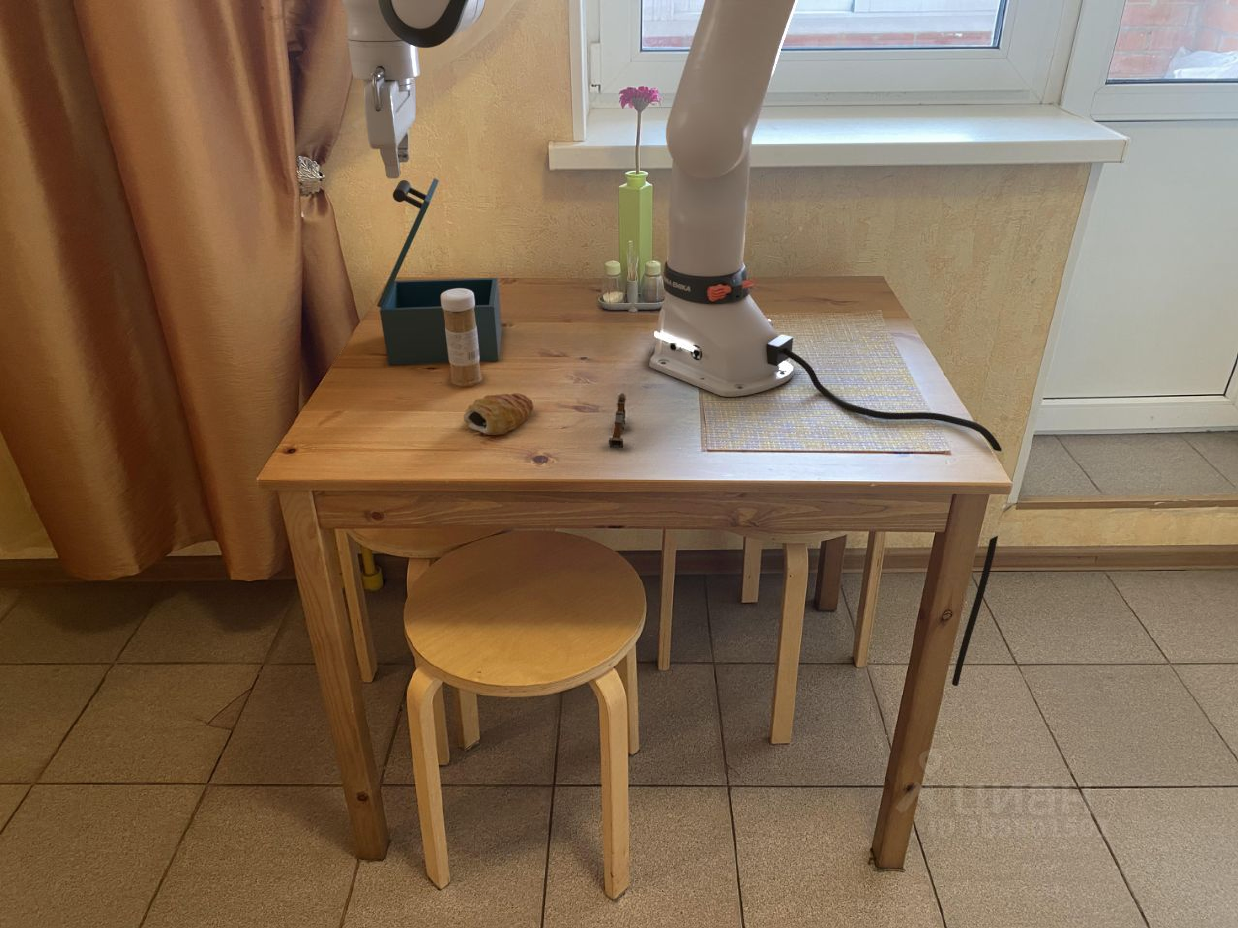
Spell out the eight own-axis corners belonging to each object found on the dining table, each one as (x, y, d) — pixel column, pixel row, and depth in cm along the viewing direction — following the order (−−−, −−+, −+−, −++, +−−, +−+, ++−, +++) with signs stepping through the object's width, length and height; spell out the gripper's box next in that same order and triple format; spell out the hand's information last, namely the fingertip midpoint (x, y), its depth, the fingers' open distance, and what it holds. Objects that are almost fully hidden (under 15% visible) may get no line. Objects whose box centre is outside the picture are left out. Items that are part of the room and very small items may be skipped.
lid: (439, 180, 132) (407, 164, 130) (429, 203, 121) (395, 185, 120) (394, 279, 139) (364, 264, 138) (381, 308, 128) (348, 293, 127)
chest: (502, 329, 145) (497, 277, 140) (498, 361, 134) (494, 306, 130) (399, 332, 144) (392, 280, 139) (388, 365, 133) (379, 310, 129)
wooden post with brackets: (630, 411, 118) (629, 390, 114) (624, 460, 113) (622, 439, 110) (616, 410, 118) (615, 389, 114) (610, 459, 114) (608, 438, 110)
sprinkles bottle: (471, 371, 131) (462, 284, 124) (488, 381, 128) (480, 293, 121) (444, 380, 129) (434, 292, 122) (460, 390, 126) (450, 301, 119)
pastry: (512, 401, 123) (510, 376, 121) (546, 416, 119) (545, 391, 117) (460, 425, 117) (457, 400, 115) (494, 443, 113) (492, 417, 111)
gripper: (398, 73, 109) (411, 187, 116) (418, 53, 126) (429, 153, 133) (346, 73, 108) (363, 188, 116) (373, 53, 126) (386, 153, 133)
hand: (398, 169), depth 125 cm, fingers open, 8 cm apart
